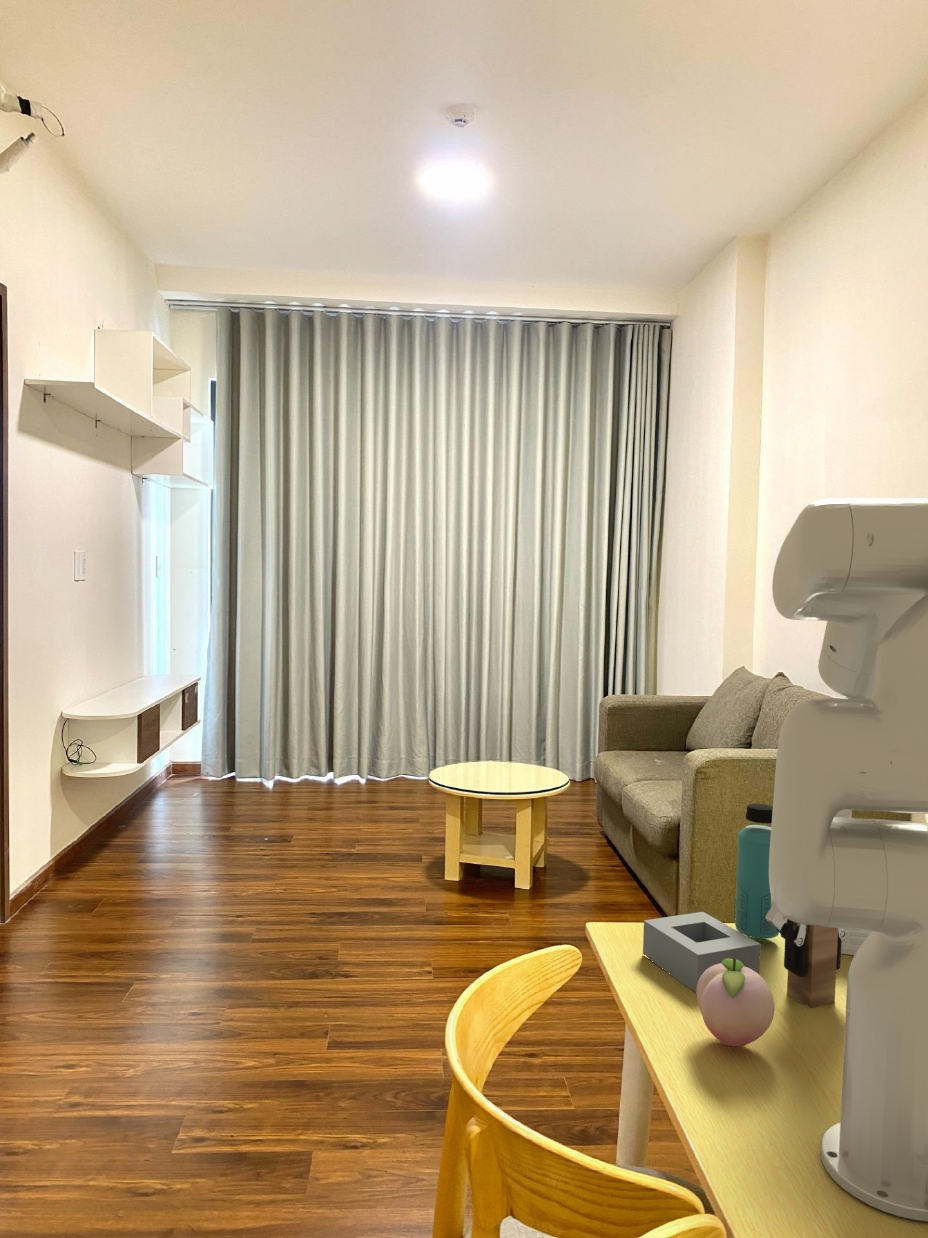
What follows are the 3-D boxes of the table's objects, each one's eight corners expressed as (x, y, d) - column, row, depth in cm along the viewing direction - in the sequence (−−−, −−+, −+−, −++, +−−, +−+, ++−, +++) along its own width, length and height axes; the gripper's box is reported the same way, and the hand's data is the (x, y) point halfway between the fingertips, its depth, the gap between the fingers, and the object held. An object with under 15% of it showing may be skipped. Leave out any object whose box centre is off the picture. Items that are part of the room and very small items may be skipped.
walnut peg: (834, 1003, 113) (839, 908, 112) (810, 1008, 111) (814, 912, 111) (811, 989, 117) (815, 898, 116) (786, 994, 115) (791, 901, 115)
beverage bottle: (783, 951, 128) (789, 812, 127) (734, 946, 130) (740, 809, 129) (776, 934, 135) (782, 801, 134) (730, 929, 136) (735, 798, 135)
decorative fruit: (781, 1071, 97) (785, 980, 96) (703, 1065, 98) (707, 975, 97) (761, 1027, 106) (765, 944, 106) (690, 1022, 107) (693, 940, 106)
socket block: (759, 981, 118) (760, 944, 118) (696, 993, 115) (698, 955, 114) (701, 946, 129) (702, 911, 129) (642, 955, 126) (644, 920, 125)
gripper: (846, 814, 120) (840, 948, 121) (744, 824, 113) (738, 967, 114) (893, 829, 113) (885, 972, 114) (786, 841, 106) (780, 993, 107)
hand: (811, 968), depth 114 cm, fingers open, 4 cm apart
